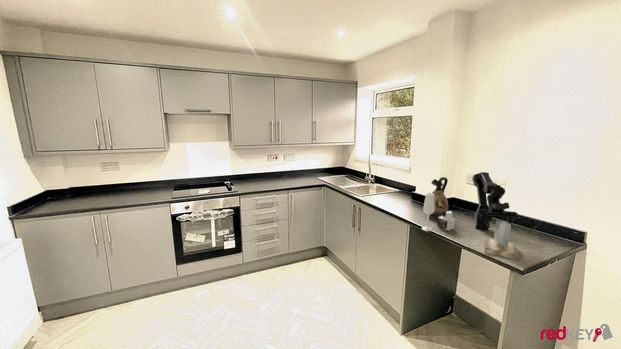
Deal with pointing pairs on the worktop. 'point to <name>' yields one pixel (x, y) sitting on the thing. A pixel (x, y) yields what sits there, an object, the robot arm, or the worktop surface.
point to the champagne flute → (428, 208)
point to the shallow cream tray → (500, 249)
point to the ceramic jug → (439, 197)
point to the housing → (502, 233)
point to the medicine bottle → (446, 220)
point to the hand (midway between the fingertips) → (498, 228)
